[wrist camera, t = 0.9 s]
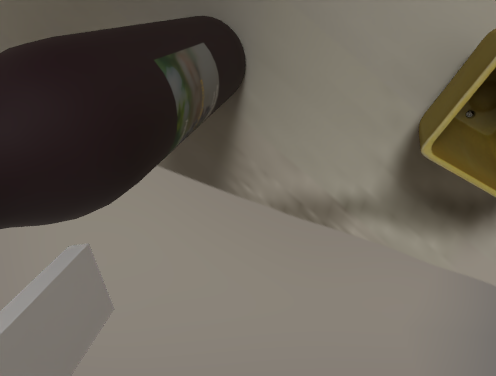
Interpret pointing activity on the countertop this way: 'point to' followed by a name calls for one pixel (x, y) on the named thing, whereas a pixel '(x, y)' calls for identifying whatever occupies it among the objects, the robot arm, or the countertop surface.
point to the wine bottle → (104, 111)
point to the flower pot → (466, 121)
